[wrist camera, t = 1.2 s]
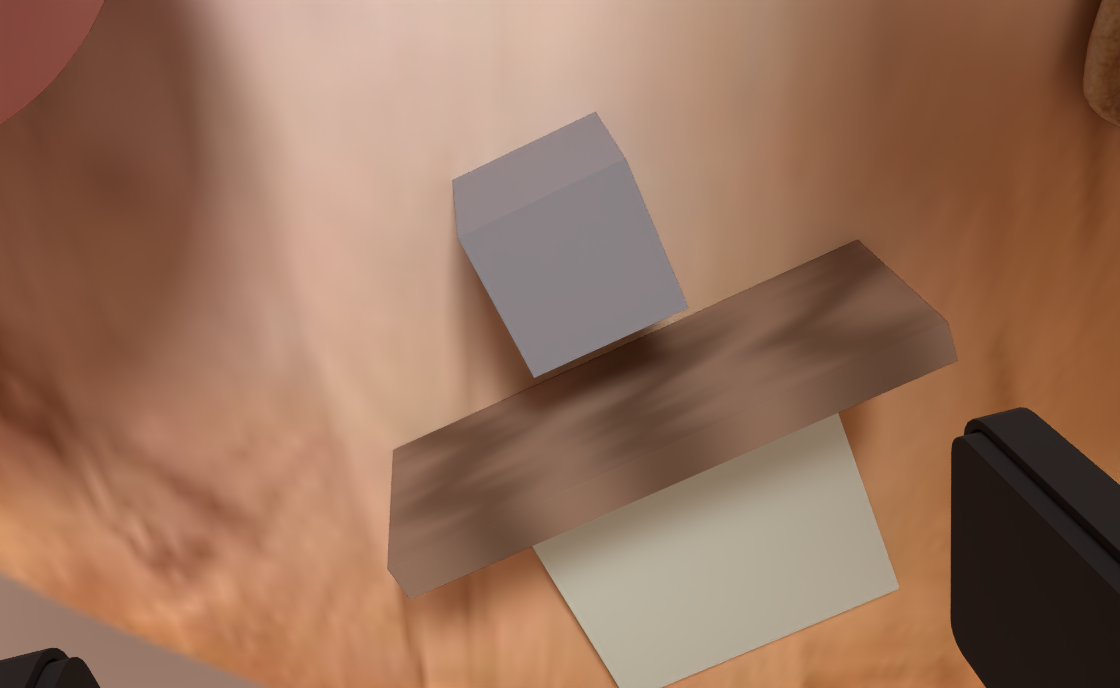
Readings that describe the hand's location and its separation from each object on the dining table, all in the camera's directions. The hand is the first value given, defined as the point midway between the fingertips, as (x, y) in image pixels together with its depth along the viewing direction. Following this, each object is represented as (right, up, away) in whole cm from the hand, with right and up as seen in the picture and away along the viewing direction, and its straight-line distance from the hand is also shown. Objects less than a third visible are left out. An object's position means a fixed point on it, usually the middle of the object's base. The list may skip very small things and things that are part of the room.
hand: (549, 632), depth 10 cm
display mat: (+7, -5, +32) cm, 33 cm away
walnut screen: (+3, +2, +27) cm, 27 cm away
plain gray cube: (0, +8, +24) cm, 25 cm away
